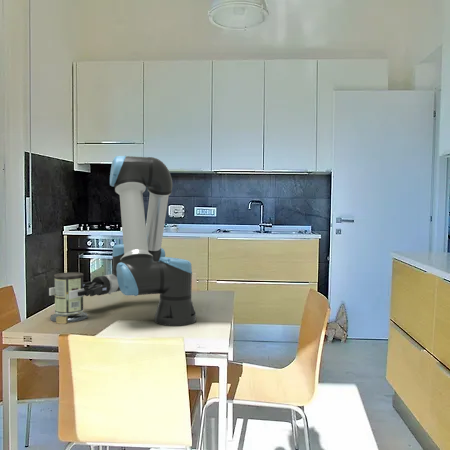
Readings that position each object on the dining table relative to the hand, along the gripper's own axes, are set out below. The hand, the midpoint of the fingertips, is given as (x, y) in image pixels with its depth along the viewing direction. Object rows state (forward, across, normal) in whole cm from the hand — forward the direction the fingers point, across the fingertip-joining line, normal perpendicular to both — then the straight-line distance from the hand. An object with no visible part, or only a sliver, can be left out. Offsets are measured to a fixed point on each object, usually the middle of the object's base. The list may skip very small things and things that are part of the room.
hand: (59, 293), depth 169 cm
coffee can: (-4, 0, -8) cm, 9 cm away
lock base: (-4, 0, -10) cm, 11 cm away
